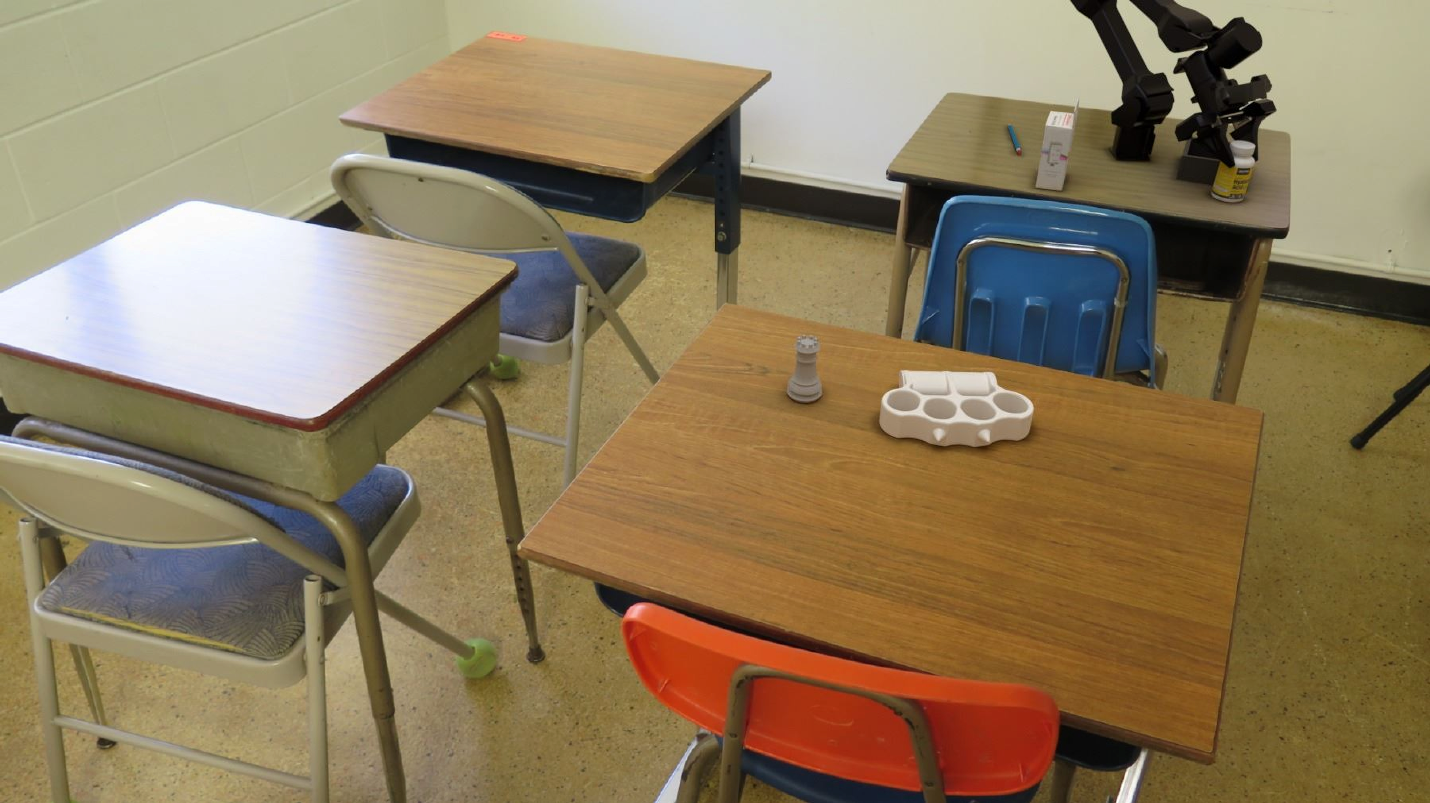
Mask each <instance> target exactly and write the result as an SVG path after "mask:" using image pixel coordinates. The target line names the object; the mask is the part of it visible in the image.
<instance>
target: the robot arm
mask: <svg viewBox="0 0 1430 803" xmlns="http://www.w3.org/2000/svg"><path fill="white" fill-rule="evenodd" d="M1128 1H1129V2H1130V3H1131V4H1132V5H1134V6H1135V7H1136V8H1137V9H1138V10H1139V11H1140V12H1141V13H1142V14H1143V15H1144V16H1145V17H1147V19H1149V20H1150V21H1151V22H1152V23H1153V25H1155V27H1156V31H1157V36H1158V38H1159V39H1160V41H1161V42H1162V44H1163V45H1164V46H1165V47H1166V49H1167V50H1168V51H1169V52H1171V53H1173V54H1181V53H1187V52H1192V51H1194V52H1192V53H1191V54H1190V55H1188V56H1183V57H1178V58H1177V61H1176V64H1175V65H1174V68H1173V70H1172V74H1173V75H1178V74H1185V76H1186V79H1187V80H1188V82H1189V85H1190V87H1191V90H1192V92H1193V96H1192V97H1190V98H1189V99H1190V100H1189V101H1190V102H1191V104H1193V105H1194V104H1198V107H1199V109H1200V111H1199V112H1194V113H1193V114H1191V115H1190V116H1188V117H1187V118H1186V119H1184V120H1182V121H1181V122H1179V123H1178V124H1176V125H1175V129H1174V135H1175V138H1176V139H1177V142H1178V143H1181V142H1186V140H1190V139H1191V138H1192V137H1193V136H1194V135H1193V134H1195V135H1196V137H1197V138H1195V139H1194V140H1192V142H1193V143H1197V144H1198V145H1200V146H1201V147H1202V148H1204V149H1205V150H1207V151H1208V152H1210V153H1211V154H1212V155H1214V156H1215V157H1216V158H1217V159H1219V160H1220V161H1221V162H1222V163H1224V164H1225V165H1226V166H1227V167H1229V168H1232V167H1234V166H1235V161H1234V157H1233V154H1232V151H1231V148H1230V145H1229V142H1230V141H1229V140H1228V136H1227V134H1229V135H1230V137H1231V138H1232V139H1233V141H1238V140H1239V141H1247V142H1250V143H1253V144H1254V145H1255V149H1254V153H1253V155H1251V156H1252V157H1253V158H1254V160H1255V163H1257V162H1258V161H1259V129H1260V126H1261V123H1262V122H1263V121H1265V120H1266V118H1268V117H1270V116H1271V115H1273V114H1275V113H1276V112H1277V111H1278V109H1277V107H1276V104H1275V103H1274V101H1273V100H1271V99H1269V98H1268V93H1270V92H1271V90H1272V87H1273V85H1272V84H1273V83H1271V80H1270V78H1269V76H1268V75H1267V73H1264V74H1260V75H1259V74H1258V75H1253V76H1251V78H1250V82H1246V83H1241V84H1239V82H1238V80H1237V79H1235V78H1228V75H1227V73H1226V70H1232V69H1234V68H1236V67H1237V66H1238V65H1240V64H1242V63H1243V62H1244V61H1246V60H1247V59H1249V58H1250V57H1251V56H1254V54H1256V53H1257V52H1259V51H1260V50H1261V49H1262V47H1263V43H1264V42H1263V36H1262V34H1261V32H1260V31H1259V30H1258V29H1257V28H1256V27H1255V26H1253V24H1251V23H1249V22H1247V21H1246V20H1245V18H1244V16H1237V17H1233V18H1232V19H1231V20H1230V21H1228V23H1226V25H1224V26H1223V27H1222V28H1221V27H1219V26H1217V25H1214V22H1213V21H1212V20H1211V19H1210V18H1209V17H1208V16H1206V15H1205V14H1203V13H1201V12H1199V11H1198V10H1195V9H1193V8H1190V7H1186V6H1183V5H1181V4H1179V3H1178V2H1177V1H1175V0H1128ZM1069 2H1070V3H1071V4H1072V6H1073V7H1074V8H1075V9H1076V11H1077V12H1078V13H1079V14H1081V15H1082V16H1084V17H1085V18H1087V19H1088V20H1090V21H1091V23H1092V25H1093V27H1094V29H1095V31H1096V33H1097V34H1098V37H1099V38H1100V41H1101V43H1102V44H1103V47H1104V49H1105V51H1106V53H1107V55H1108V57H1109V59H1110V61H1111V63H1112V65H1113V67H1114V68H1115V71H1116V73H1117V76H1118V77H1119V79H1120V81H1121V83H1122V88H1121V96H1120V99H1121V103H1122V104H1121V105H1120V106H1118V107H1117V108H1115V109H1113V111H1111V113H1110V122H1111V124H1112V125H1114V126H1116V127H1115V128H1116V129H1115V133H1114V137H1113V142H1112V145H1109V146H1108V150H1109V151H1110V153H1111V155H1112V156H1113V157H1114V159H1115V160H1116V161H1138V162H1139V161H1140V162H1141V161H1143V162H1150V161H1152V160H1151V159H1152V157H1151V155H1152V153H1153V150H1154V145H1155V141H1156V137H1157V134H1156V133H1155V130H1156V126H1157V125H1162V124H1163V123H1164V121H1165V119H1167V118H1166V117H1167V116H1169V115H1170V114H1171V112H1172V110H1173V107H1174V103H1175V95H1174V93H1173V92H1174V91H1175V89H1174V88H1173V87H1172V86H1171V84H1170V82H1169V80H1168V76H1167V75H1166V73H1165V72H1163V71H1162V72H1157V73H1154V72H1152V71H1151V70H1150V69H1149V68H1148V66H1147V64H1146V62H1145V61H1144V58H1143V55H1142V54H1141V52H1140V50H1139V48H1138V46H1137V44H1136V42H1135V41H1134V40H1135V39H1134V38H1133V36H1132V34H1131V33H1130V31H1129V28H1128V27H1127V25H1126V23H1125V21H1124V19H1123V17H1122V14H1121V13H1120V11H1119V9H1118V0H1069ZM1202 49H1204V50H1202ZM1229 125H1232V127H1233V130H1232V131H1231V132H1229V133H1228V128H1229Z"/></svg>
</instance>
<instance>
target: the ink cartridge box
mask: <svg viewBox="0 0 1430 803" xmlns="http://www.w3.org/2000/svg"><path fill="white" fill-rule="evenodd" d="M1079 105H1080V97H1078V98H1077V100H1076V104H1075V107H1074V109H1073V113H1072V112H1065V111H1053V110H1051V111H1050V112H1049V114H1048V117H1047V119H1046V122H1045V126H1044V132H1043V134H1044V135H1043V138H1042V139H1043V140H1042V144H1041V145H1042V146H1041V153H1040V158H1039V163H1038V169H1037V170H1038V171H1037V176H1036V182H1035V188H1036V189H1043V190H1051V191H1059V192H1061V191H1063V188H1064V183H1065V180H1066V175H1067V170H1068V166H1069V162H1070V161H1069V160H1070V156H1071V150H1072V145H1073V141H1074V134H1075V131H1076V125H1077V119H1078V115H1079Z"/></svg>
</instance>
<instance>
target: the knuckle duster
mask: <svg viewBox="0 0 1430 803" xmlns="http://www.w3.org/2000/svg"><path fill="white" fill-rule="evenodd" d="M1034 411H1035V408H1034V404H1033V402H1032V401H1031V400H1030V398H1028V397H1027V396H1025V395H1023V394H1021V393H1019V392H1016V391H1013V390H1007V389H1005V388H1003V387H1001V386H1000V385H998V381H997V377H996V374H995V373H994V372H992V371H983V372H975V371H950V370H942V371H936V370H935V371H933V370H932V371H931V370H908V369H907V370H905V369H901V370H899V373H898V388H894V389H891V390H889V391H887V392H886V393H885V394H883V396H882V398H881V401H880V411H879V421H878V422H879V427H880V429H882V431H883V432H885V433H886V434H887V435H889V436H891V437H893V438H897V439H909V438H910V439H916V440H921V441H923V442H925V443H927V444H928V445H935V446H941V447H949V446H955V445H956V446H957V445H961V446H968V447H971V448H978V447H985V446H990V445H991V444H992V443H995V442H998V441H1016V442H1018V441H1021V440H1024V439H1025V438H1027V436H1028V435H1029V433H1030V431H1031V426H1032V420H1033V417H1034Z"/></svg>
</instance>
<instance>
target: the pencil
mask: <svg viewBox="0 0 1430 803" xmlns="http://www.w3.org/2000/svg"><path fill="white" fill-rule="evenodd" d="M1007 127H1008V130H1009V133H1010V136H1011V139H1012V141H1013V144H1014V147H1015V150H1016V153H1017V155H1021V154H1022V150H1021V147H1020V145H1019V142H1018V139H1017V136H1016V133H1015V131H1014V127H1013V125H1012V124H1011V123H1008V125H1007Z"/></svg>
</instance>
